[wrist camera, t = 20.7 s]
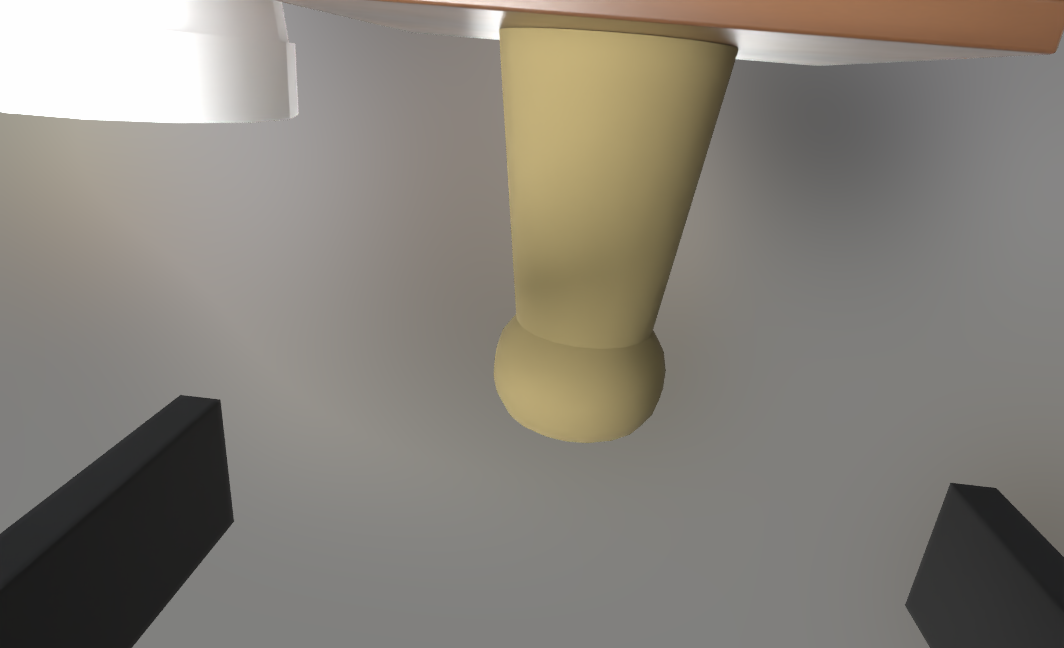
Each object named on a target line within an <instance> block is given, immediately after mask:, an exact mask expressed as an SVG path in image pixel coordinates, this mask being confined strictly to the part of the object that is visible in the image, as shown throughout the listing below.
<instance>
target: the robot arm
mask: <svg viewBox="0 0 1064 648" xmlns="http://www.w3.org/2000/svg"><path fill="white" fill-rule="evenodd" d="M233 522H234V519H233V510H232V501H231V492H230V484H229V474H228V465H227V457H226V447H225V438H224V430H223V420H222V411H221V403H220V400H217V399H210V398H201V397H192V396H183V395H180V396H179V397H177V398H176V399H175V400H173V401H172V402H171V403H170V404H168V405H167V406H166V407H165V408H163V409H162V410H161V411H160V412H158V413H157V414H155V415H154V416H153V417H151V418H150V419H149V420H147V421H146V422H145V423H144V424H142V425H141V426H140V427H138V428H137V429H136V430H135V431H133V432H132V433H131V434H129V435H128V436H127V437H125V438H124V439H123V440H121V441H120V442H119V443H118V444H116V445H115V446H114V447H112V448H111V449H110V450H108V451H107V452H106V453H105V454H103V455H102V456H101V457H99V458H98V459H97V460H96V461H94V462H93V463H92V464H91V465H89V466H88V467H86V468H85V469H84V470H83V471H81V472H80V473H79V474H77V475H76V476H75V477H73V478H72V479H71V480H70V481H68V482H67V483H66V484H65V485H63V486H62V487H60V488H59V489H58V490H57V491H55V492H54V493H53V494H51V495H50V496H49V497H47V498H46V499H45V500H44V501H42V502H41V503H40V504H38V505H37V506H36V507H35V508H33V509H32V510H31V511H29V512H28V513H27V514H25V515H24V516H23V517H21V518H20V519H19V520H18V521H16V522H15V523H14V524H12V525H11V526H10V527H8V528H7V529H6V530H5V531H3V532H2V533H1V534H0V648H132V647H133V645H134V644H135V643H136V642H137V641H138V639H139V638H140V637H141V635H142V634H143V633H144V632H145V631H146V629H147V628H148V627H149V626H150V624H151V623H152V622H153V621H154V619H155V618H156V617H157V616H158V615H159V613H160V612H161V611H162V610H163V608H164V607H165V606H166V605H167V603H168V602H169V601H170V600H171V599H172V597H173V596H174V595H175V594H176V592H177V591H178V590H179V589H180V587H181V586H182V585H183V584H184V582H185V581H186V580H187V579H188V578H189V576H190V575H191V574H192V573H193V571H194V570H195V569H196V568H197V566H198V565H199V564H200V563H201V561H202V560H203V559H204V558H205V557H206V555H207V554H208V553H209V552H210V550H211V549H212V548H213V546H214V545H215V544H216V543H217V542H218V540H219V539H220V538H221V537H222V535H223V534H224V533H225V532H226V531H227V529H228V528H229V527H230V526H231V524H232V523H233ZM905 606H906V607H907V609H908V611H909V613H910V614H911V616H912V618H913V620H914V621H915V623H916V625H917V626H918V628H919V630H920V631H921V633H922V635H923V636H924V638H925V640H926V641H927V643H928V645H929V647H930V648H1064V557H1063V556H1062V555H1061V554H1060V553H1059V552H1058V551H1057V550H1056V549H1055V548H1054V547H1053V546H1052V545H1051V544H1050V543H1049V542H1048V541H1047V540H1046V539H1045V538H1044V537H1043V536H1042V535H1041V534H1040V532H1039V531H1038V530H1037V529H1036V528H1035V527H1034V526H1033V525H1032V524H1031V523H1030V522H1029V521H1028V520H1027V519H1026V518H1025V517H1024V516H1023V515H1022V514H1021V513H1020V512H1019V511H1018V510H1017V509H1016V508H1015V507H1014V506H1013V505H1012V504H1011V503H1010V502H1009V501H1008V500H1007V499H1006V498H1005V497H1004V496H1003V495H1002V494H1001V493H1000V492H999V491H998V490H997V489H996V488H991V487H981V486H973V485H964V484H956V483H950V486H949V489H948V491H947V494H946V497H945V500H944V502H943V505H942V508H941V510H940V513H939V515H938V518H937V521H936V523H935V526H934V529H933V532H932V534H931V537H930V540H929V542H928V545H927V548H926V550H925V553H924V556H923V558H922V561H921V564H920V567H919V569H918V572H917V575H916V577H915V580H914V583H913V585H912V588H911V591H910V593H909V596H908V599H907V602H906V604H905Z"/></svg>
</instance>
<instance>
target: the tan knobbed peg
mask: <svg viewBox="0 0 1064 648" xmlns="http://www.w3.org/2000/svg"><path fill="white" fill-rule="evenodd" d="M499 37H500V53H501V70H502V87H503V103H504V120H505V136H506V150H507V151H506V152H507V169H508V184H509V201H510V218H511V234H512V248H513V249H512V250H513V267H514V284H515V299H516V315H515V316H514V317H513V318H512V319H511V320H510V322H509V323H508V324H507V325H506V326H505V327H504V329H503V330H502V333H501V336H500V339H499V342H498V345H497V349H496V355H495V364H494V379H495V384H496V389H497V392H498V394H499V396H500V398H501V400H502V402H503V404H504V405H505V407H506V408H507V410H508V412H509V414H510V415H511V416H512V417H513V418H514V419H516V420H517V421H518V422H519V423H520V424H521V425H523V426H524V427H526V428H528V429H531V430H533V431H535V432H537V433H539V434H542V435H544V436H547V437H551V438H555V439H559V440H563V441H568V442H581V443H592V442H601V441H611V440H615V439H618V438H621V437H624V436H627V435H630V434H631V433H632V432H634V431H635V430H636V429H637V428H638V427H640V426H641V425H642V424H643V423H644V422H645V421H646V420H647V419H648V418H649V417H650V416H651V415H652V413H653V411H654V409H655V407H656V405H657V403H658V401H659V398H660V395H661V392H662V389H663V384H664V378H665V371H666V370H665V361H664V352H663V349H662V347H661V345H660V342H659V340H658V338H657V337H656V335H655V333H654V331H653V327H654V324H655V321H656V318H657V315H658V311H659V308H660V305H661V301H662V298H663V295H664V291H665V288H666V285H667V282H668V279H669V275H670V272H671V269H672V265H673V262H674V259H675V256H676V252H677V249H678V246H679V242H680V239H681V236H682V233H683V229H684V226H685V223H686V220H687V216H688V213H689V210H690V206H691V203H692V200H693V197H694V193H695V190H696V187H697V184H698V180H699V177H700V174H701V171H702V167H703V164H704V161H705V157H706V154H707V151H708V148H709V144H710V141H711V138H712V135H713V131H714V128H715V125H716V121H717V118H718V115H719V111H720V108H721V105H722V102H723V99H724V95H725V92H726V89H727V85H728V82H729V79H730V76H731V72H732V69H733V66H734V62H735V59H736V56H737V53H738V48H737V47H733V46H729V45H724V44H718V43H711V42H705V41H698V40H690V39H681V38H672V37H662V36H653V35H641V34H630V33H618V32H606V31H591V30H575V29H556V28H502V29H499Z"/></svg>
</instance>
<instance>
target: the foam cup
mask: <svg viewBox="0 0 1064 648" xmlns="http://www.w3.org/2000/svg"><path fill="white" fill-rule="evenodd" d="M0 112H5V113H18V114H28V115H41V116H52V117H64V118H75V119H90V120H91V119H92V120H116V121H140V122H142V121H143V122H165V123H247V122H248V123H249V122H262V121H275V120H288V119H291V118H293V117H295V116H297V115H298V114H299V110H298V91H297V70H296V51H295V44H294V43H289V39H288V34H287V28H286V22H285V17H284V11H283V5H282V2H280V1H276V0H0Z"/></svg>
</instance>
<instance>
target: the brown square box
mask: <svg viewBox="0 0 1064 648" xmlns="http://www.w3.org/2000/svg"><path fill="white" fill-rule="evenodd" d="M276 1H280V2H284V3H289V4H293V5H297V6H301V7H305V8H310V9H314V10H319V11H322V12H327V13H331V14H335V15H339V16H344V17H348V18H352V19H356V20H360V21H365V22H369V23H373V24H377V25H382V26H386V27H391V28H394V29H399V30H403V31H407V32H411V33H424V34H435V35H449V36H460V37H473V38H485V39H497V40H500V37H499V29H502V28H556V29H575V30H591V31H606V32H618V33H630V34H641V35H653V36H662V37H672V38H681V39H690V40H698V41H705V42H711V43H718V44H724V45H729V46H733V47H737V48H738V53H737V56H736V59H742V60H754V61H767V62H779V63H791V64H803V65H815V66H823V65H843V64H863V63H884V62H905V61H925V60H946V59H966V58H986V57H1005V56H1006V57H1007V56H1026V55H1027V56H1028V55H1048V54H1052V53H1055V52H1056V50H1057V48H1058V46H1059V42H1060V40H1061V37H1062V34H1063V31H1064V0H276Z"/></svg>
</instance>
